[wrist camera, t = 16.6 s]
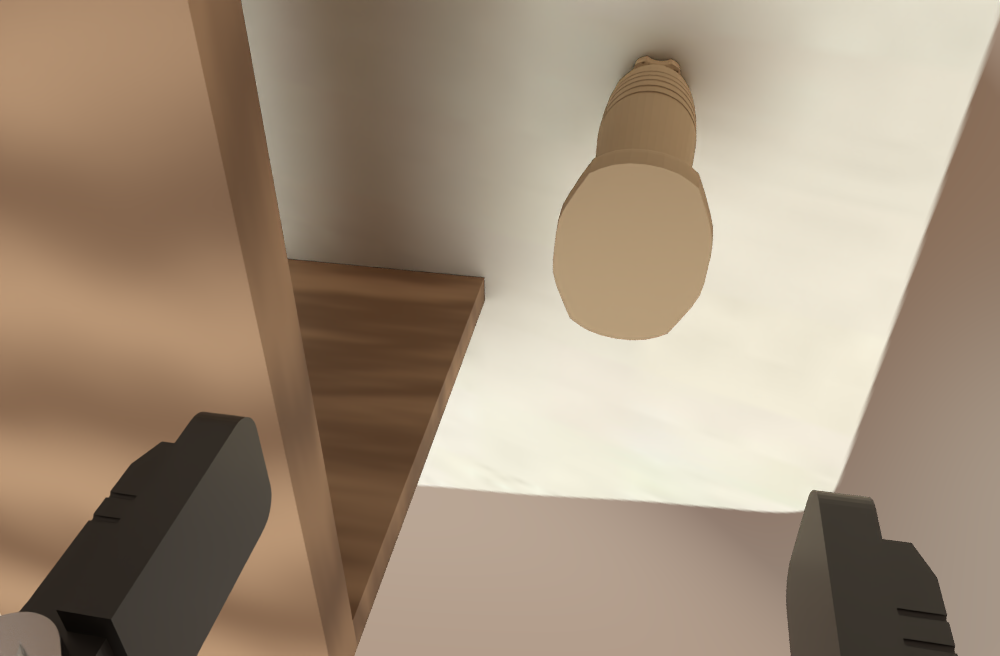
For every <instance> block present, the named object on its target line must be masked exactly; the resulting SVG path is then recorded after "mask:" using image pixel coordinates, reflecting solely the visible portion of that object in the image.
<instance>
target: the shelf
mask: <svg viewBox="0 0 1000 656" xmlns="http://www.w3.org/2000/svg"><path fill="white" fill-rule="evenodd" d="M484 301H485V292H484V278H480V277H470V276H459V275H449V274H438V273H428V272H417V271H407V270H396V269H386V268H376V267H365V266H355V265H344V264H334V263H323V262H313V261H302V260H292V259H287V254H286V248H285V243H284V237H283V231H282V226H281V220H280V215H279V209H278V204H277V198H276V193H275V187H274V182H273V176H272V170H271V165H270V159H269V154H268V148H267V143H266V137H265V132H264V126H263V121H262V115H261V109H260V104H259V98H258V93H257V87H256V82H255V76H254V71H253V65H252V59H251V54H250V48H249V43H248V37H247V32H246V26H245V21H244V15H243V10H242V4H241V0H0V614H1V615H5V614H9V613H15V612H19V611H20V610H21V609H22V608H23V606H24V605H25V604H26V603H27V602H28V600H29V599H30V598H31V596H32V595H33V594H34V592H35V591H36V590H37V588H38V587H39V586H40V584H41V583H42V582H43V580H44V579H45V578H46V576H47V575H48V574H49V572H50V571H51V570H52V568H53V567H54V566H55V564H56V563H57V562H58V560H59V559H60V558H61V556H62V555H63V554H64V552H65V551H66V550H67V548H68V547H69V546H70V544H71V543H72V542H73V540H74V539H75V538H76V536H77V535H78V534H79V532H80V531H81V530H82V528H83V527H84V526H85V524H86V523H87V522H88V520H92V519H93V514H94V512H95V511H96V510H97V508H98V507H99V506H100V504H101V503H102V502H103V500H104V499H105V498H106V497H108V498H109V496H110V491H111V490H112V488H113V487H114V486H115V484H116V483H117V482H118V480H119V479H120V478H121V476H122V475H123V474H124V472H125V471H126V470H127V468H128V467H129V466H130V464H131V463H133V462H134V461H136V460H137V459H138V458H140V457H141V456H142V455H144V454H145V453H147V452H148V451H149V450H151V449H152V448H153V447H155V446H156V445H157V444H159V443H160V442H162V441H163V442H170V443H175V442H176V440H177V439H178V438H179V436H180V435H181V433H182V432H183V431H184V429H185V428H186V426H187V425H188V424H189V422H190V421H191V419H192V418H193V417H194V416H195V415H196V414H198V413H199V412H211V413H219V414H227V415H235V416H243V417H250V418H251V419H253V421H254V422H255V424H256V427H257V431H258V435H259V440H260V444H261V448H262V452H263V456H264V460H265V464H266V469H267V473H268V477H269V481H270V485H271V493H272V497H271V508H270V513H269V517H268V520H267V523H266V526H265V528H264V530H263V532H262V534H261V536H260V538H259V540H258V542H257V543H256V545H255V547H254V549H253V551H252V553H251V555H250V557H249V559H248V560H247V562H246V564H245V566H244V568H243V570H242V572H241V574H240V575H239V577H238V579H237V581H236V583H235V585H234V587H233V589H232V591H231V592H230V594H229V596H228V598H227V600H226V602H225V604H224V606H223V608H222V609H221V611H220V613H219V615H218V617H217V619H216V621H215V623H214V624H213V626H212V628H211V630H210V632H209V634H208V636H207V638H206V640H205V641H204V643H203V645H202V647H201V649H200V651H199V653H198V655H197V656H354V655H355V652H356V649H357V646H358V644H359V641H360V638H361V636H362V633H363V630H364V628H365V625H366V622H367V619H368V617H369V614H370V611H371V609H372V606H373V603H374V600H375V598H376V595H377V592H378V589H379V587H380V584H381V581H382V579H383V576H384V573H385V570H386V568H387V565H388V562H389V560H390V557H391V554H392V551H393V549H394V546H395V543H396V540H397V538H398V535H399V532H400V530H401V527H402V524H403V522H404V519H405V516H406V513H407V511H408V508H409V505H410V503H411V500H412V497H413V494H414V491H415V489H416V486H417V483H418V481H419V478H420V475H421V473H422V470H423V467H424V464H425V462H426V459H427V456H428V454H429V451H430V448H431V445H432V443H433V440H434V437H435V435H436V432H437V429H438V426H439V424H440V421H441V418H442V416H443V413H444V410H445V407H446V405H447V402H448V399H449V396H450V394H451V391H452V388H453V386H454V383H455V380H456V377H457V375H458V372H459V369H460V367H461V364H462V361H463V358H464V356H465V353H466V350H467V348H468V345H469V342H470V339H471V337H472V334H473V331H474V329H475V326H476V323H477V320H478V318H479V315H480V312H481V309H482V307H483V304H484Z"/></svg>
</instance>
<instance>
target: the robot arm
mask: <svg viewBox="0 0 1000 656" xmlns="http://www.w3.org/2000/svg"><path fill="white" fill-rule="evenodd" d="M271 497H272V493H271V485H270V481H269V477H268V473H267V469H266V464H265V460H264V456H263V452H262V448H261V444H260V440H259V435H258V431H257V427H256V424H255V422H254V421H253V419H251V418H250V417H243V416H235V415H227V414H219V413H211V412H199V413H198V414H196V415H195V416H194V417H193V418H192V419H191V421H190V422H189V424H188V425H187V426H186V428H185V429H184V431H183V432H182V433H181V435H180V436H179V438H178V439H177V440H176V442H175V443H170V442H163V441H162V442H160V443H159V444H157V445H156V446H155V447H153V448H152V449H151V450H149V451H148V452H147V453H145V454H144V455H142V456H141V457H140V458H138V459H137V460H136V461H134V462H133V463H131V464H130V466H129V467H128V468H127V470H126V471H125V472H124V474H123V475H122V476H121V478H120V479H119V480H118V482H117V483H116V484H115V486H114V487H113V488H112V490H111V491H110V496H109V498H108V497H106V498H105V499H104V500H103V502H102V503H101V504H100V506H99V507H98V508H97V510H96V511H95V512H94V514H93V519H92V520H88V522H87V523H86V524H85V526H84V527H83V528H82V530H81V531H80V532H79V534H78V535H77V536H76V538H75V539H74V540H73V542H72V543H71V544H70V546H69V547H68V548H67V550H66V551H65V552H64V554H63V555H62V556H61V558H60V559H59V560H58V562H57V563H56V564H55V566H54V567H53V568H52V570H51V571H50V572H49V574H48V575H47V576H46V578H45V579H44V580H43V582H42V583H41V584H40V586H39V587H38V588H37V590H36V591H35V592H34V594H33V595H32V596H31V598H30V599H29V600H28V602H27V603H26V604H25V605H24V606H23V608H22V609H21V610H20V611H19V612H15V613H9V614H5V615H1V616H0V656H197V655H198V653H199V651H200V649H201V647H202V645H203V643H204V641H205V640H206V638H207V636H208V634H209V632H210V630H211V628H212V626H213V624H214V623H215V621H216V619H217V617H218V615H219V613H220V611H221V609H222V608H223V606H224V604H225V602H226V600H227V598H228V596H229V594H230V592H231V591H232V589H233V587H234V585H235V583H236V581H237V579H238V577H239V575H240V574H241V572H242V570H243V568H244V566H245V564H246V562H247V560H248V559H249V557H250V555H251V553H252V551H253V549H254V547H255V545H256V543H257V542H258V540H259V538H260V536H261V534H262V532H263V530H264V528H265V526H266V523H267V520H268V517H269V513H270V508H271ZM786 603H787V604H786V606H787V618H788V628H789V629H788V630H789V641H790V652H791V656H958V655H957V654H955V651H954V648H955V644H954V640H953V636H952V632H951V629H950V625H949V623H948V622H947V621H946V616H947V614H946V610H945V606H944V602H943V599H942V594H941V591H940V587H939V583H938V579H937V577H936V576H935V574H934V573H933V572H932V570H931V569H930V567H929V566H928V565H927V563H926V562H925V561H924V559H923V558H922V557H921V555H920V554H919V553H918V551H917V550H916V548H915V547H914V546H913V544H912V543H907V542H900V541H892V540H884V539H882V536H881V531H880V526H879V522H878V517H877V513H876V508H875V504H874V502H873V500H872V499H871V498H870V497H864V496H856V495H848V494H840V493H832V492H824V491H816V490H812V491H811V493H810V495H809V497H808V500H807V503H806V507H805V510H804V514H803V518H802V521H801V525H800V528H799V532H798V535H797V539H796V542H795V546H794V549H793V553H792V557H791V560H790V564H789V569H788V577H787V590H786Z"/></svg>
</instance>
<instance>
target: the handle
mask: <svg viewBox="0 0 1000 656" xmlns="http://www.w3.org/2000/svg"><path fill="white" fill-rule="evenodd" d="M695 147H696V115H695V107H694V102H693V98H692V94H691V92H690V89H689V87H688V85H687V84H686V82H685V80H684V79H683V78H682V77H681V74H680V66H679V64H678V63H677V62H676V61H674V60H672V59H669V60H666V61H658V60H653V59H651V58H649V56H645V57H642V58H639V59H638V60H637V61H636V63H635V66H634V68H633V69H632V71H630V72H629V73H628V74H626V75H625V76H624V77H623V78H622V79H621V80H620V81H619V82H618V84H617V86H616V87H615V89H614V91H613V93H612V94H611V96H610V99H609V101H608V104H607V106H606V109H605V111H604V114H603V117H602V121H601V125H600V128H599V133H598V140H597V149H596V158H594V159H593V160H592V162H591V163H590V164H589V166H588V167H587V168H586V170H585V171H584V172H583V174H582V175H581V177H580V178H579V179H578V181H577V183H576V184H575V186H574V187H573V189H572V190H571V192H570V193H569V195H568V197H567V199H566V200H565V202H564V204H563V206H562V209H561V213H560V216H559V220H558V225H557V231H556V238H555V247H554V256H553V274H554V278H555V282H556V285H557V288H558V291H559V293H560V296H561V298H562V301H563V303H564V305H565V308H566V310H567V312H568V314H569V317H570V318H571V319H572V320H573V321H575V322H576V323H577V324H579V325H580V326H582V327H584V328H585V329H587V330H589V331H591V332H594V333H597V334H599V335H603V336H607V337H611V338H616V339H626V340H646V339H650V338H655V337H659V336H662V335H665V334H667V333H668V332H669V331H670V330H671V329H672V328H673V327H674V326H675V325H676V324H677V323H678V322H679V321H680V320H681V318H682V317H683V316H684V315H685V314H686V313H687V312H688V311H689V309H690V308H691V307H692V306H693V304H694V303H695V301H696V300H697V298H698V297H699V296H700V293H701V290H702V288H703V285H704V282H705V278H706V274H707V270H708V265H709V261H710V257H711V250H712V241H713V225H712V220H711V215H710V211H709V207H708V203H707V199H706V196H705V192H704V189H703V185H702V182H701V179H700V176H699V174H698V172H696V171H695V170H694V169H693V168H692V165H693V159H694V153H695Z"/></svg>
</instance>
